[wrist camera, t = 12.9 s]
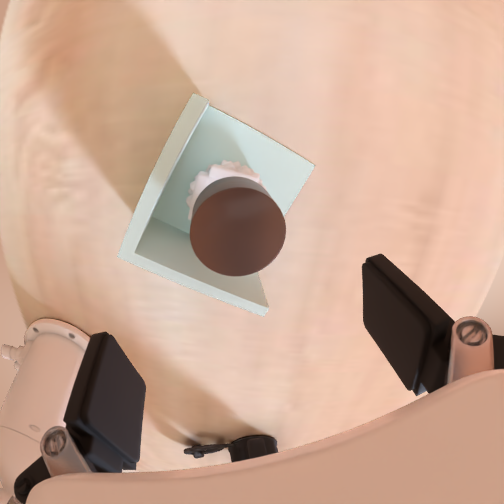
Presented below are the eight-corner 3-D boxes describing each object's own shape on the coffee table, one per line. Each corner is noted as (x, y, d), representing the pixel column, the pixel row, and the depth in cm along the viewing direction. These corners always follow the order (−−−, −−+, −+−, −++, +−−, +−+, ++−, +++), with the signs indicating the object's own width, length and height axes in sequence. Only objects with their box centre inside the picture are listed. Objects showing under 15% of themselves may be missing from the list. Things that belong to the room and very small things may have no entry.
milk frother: (281, 447, 49) (297, 510, 36) (208, 463, 49) (214, 524, 36) (262, 417, 42) (279, 497, 29) (175, 436, 42) (176, 511, 29)
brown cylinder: (190, 252, 20) (188, 275, 17) (194, 173, 18) (192, 184, 15) (268, 256, 21) (278, 278, 18) (280, 180, 18) (292, 191, 16)
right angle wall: (250, 270, 30) (263, 316, 23) (138, 220, 26) (117, 257, 19) (315, 165, 26) (351, 185, 19) (197, 99, 22) (193, 92, 15)
